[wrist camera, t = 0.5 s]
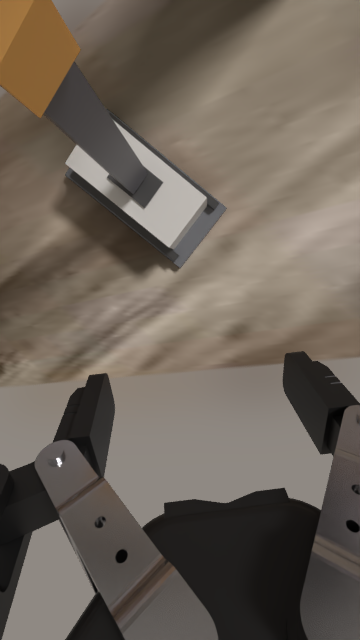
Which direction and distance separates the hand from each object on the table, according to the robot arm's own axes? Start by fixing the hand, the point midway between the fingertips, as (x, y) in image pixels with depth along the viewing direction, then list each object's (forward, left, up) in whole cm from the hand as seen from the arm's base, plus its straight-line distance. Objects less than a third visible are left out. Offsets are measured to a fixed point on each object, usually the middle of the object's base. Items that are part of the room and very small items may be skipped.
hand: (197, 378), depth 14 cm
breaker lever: (-12, -9, -20) cm, 25 cm away
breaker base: (-12, -9, -26) cm, 30 cm away
